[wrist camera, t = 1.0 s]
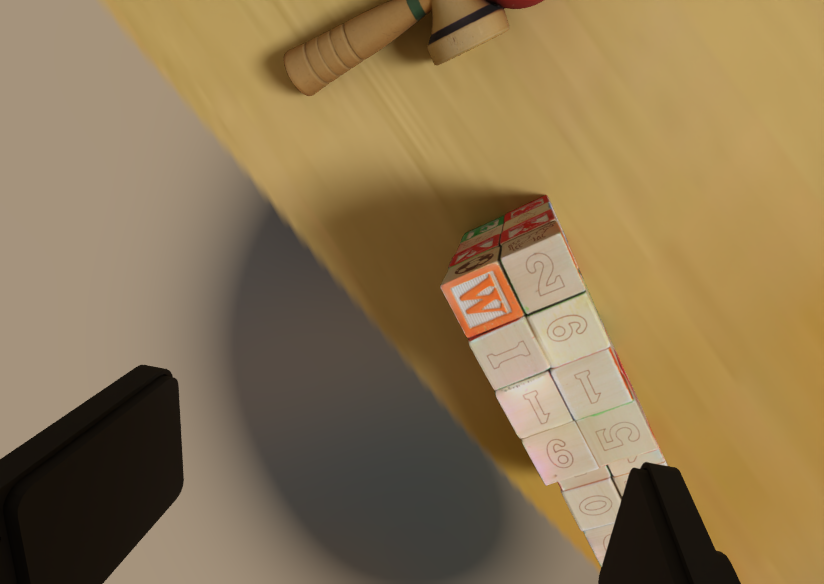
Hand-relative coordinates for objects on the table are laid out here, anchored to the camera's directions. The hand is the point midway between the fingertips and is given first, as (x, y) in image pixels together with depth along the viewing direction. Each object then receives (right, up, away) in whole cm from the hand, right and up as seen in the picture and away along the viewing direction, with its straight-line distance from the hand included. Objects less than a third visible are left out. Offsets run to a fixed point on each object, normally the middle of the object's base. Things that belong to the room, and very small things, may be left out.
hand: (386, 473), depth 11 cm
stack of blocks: (+12, 0, +28) cm, 30 cm away
